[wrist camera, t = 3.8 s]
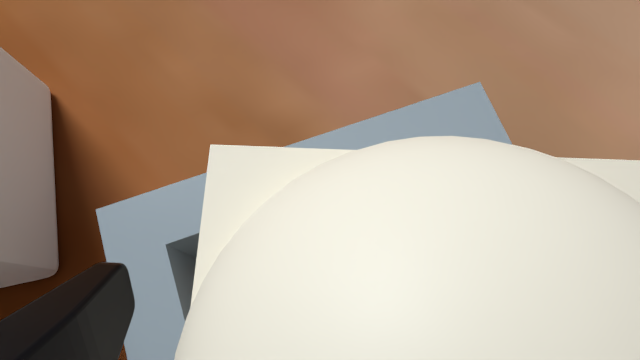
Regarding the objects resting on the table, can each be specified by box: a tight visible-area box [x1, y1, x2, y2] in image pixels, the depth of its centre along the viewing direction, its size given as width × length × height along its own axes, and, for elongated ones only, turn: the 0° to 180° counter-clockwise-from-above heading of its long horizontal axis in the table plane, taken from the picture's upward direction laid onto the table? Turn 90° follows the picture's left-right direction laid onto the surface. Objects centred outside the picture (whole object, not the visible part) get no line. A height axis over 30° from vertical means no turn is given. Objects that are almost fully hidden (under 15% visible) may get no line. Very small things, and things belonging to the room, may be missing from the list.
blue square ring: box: [96, 82, 512, 360], centre depth 12 cm, size 11×11×4 cm
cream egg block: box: [174, 136, 640, 360], centre depth 8 cm, size 5×5×12 cm
